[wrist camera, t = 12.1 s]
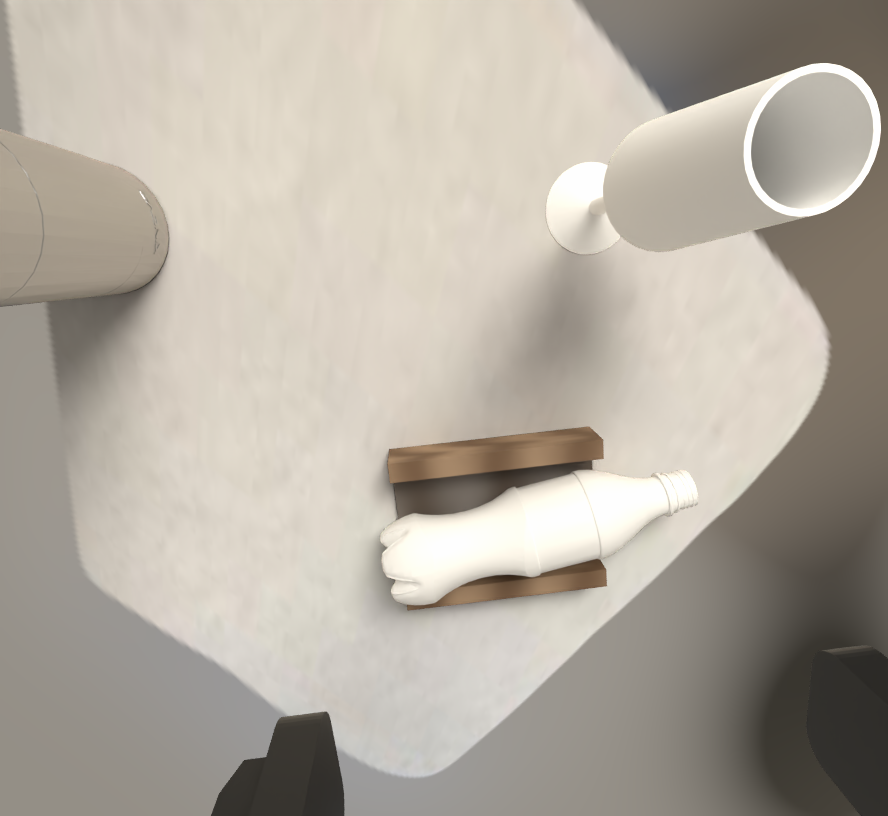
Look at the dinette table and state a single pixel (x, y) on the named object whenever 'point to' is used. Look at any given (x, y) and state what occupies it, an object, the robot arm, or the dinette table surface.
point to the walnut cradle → (494, 496)
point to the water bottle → (527, 530)
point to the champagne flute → (724, 165)
